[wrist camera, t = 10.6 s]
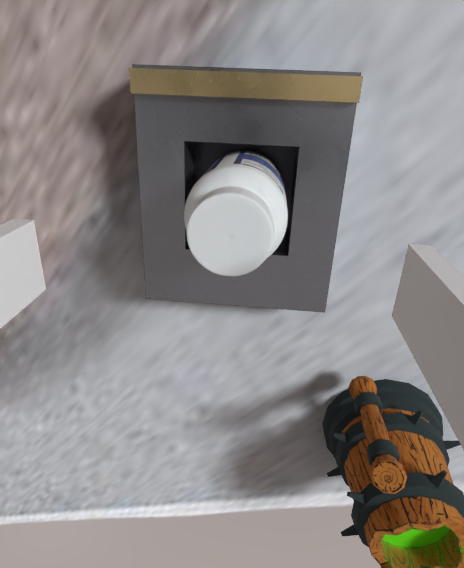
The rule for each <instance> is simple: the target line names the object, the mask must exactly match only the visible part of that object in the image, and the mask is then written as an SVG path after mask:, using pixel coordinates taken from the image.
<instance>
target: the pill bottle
mask: <svg viewBox="0 0 464 568" xmlns="http://www.w3.org/2000/svg"><path fill="white" fill-rule="evenodd" d="M184 222H185V228H186V231H187V241H188V246H189V248H190V251H191V253H192V255H193V256H194V257H195V259H196V260H197V261H198V262H199V263H200V264H201V265H202V266H203V267H204V268H206V269H208V270H209V271H211V272H213V273H215V274H218V275H223V276H240V275H244V274H247V273H249V272H251V271H253V270H255V269H256V268H258V267H259V266H260V265H261V264H262V263H263V262H264V261H265V260H266V258H268V257H269V256H270V255H271V254H272V253H273V252H274V251H275V250H276V249H277V248H278V246H279V245H280V243H281V241H282V239H283V237H284V235H285V232H286V228H287V222H288V209H287V200H286V193H285V185H284V181H283V178H282V175H281V173H280V171H279V169H278V168H277V166H276V165H275V164H274V163H273V162H272V161H271V160H270V159H269V158H268V157H266V156H265V155H263V154H261V153H258V152H255V151H251V150H238V151H234V152H230V153H228V154H226V155H224V156H222V157H220V158H219V159H218V160H217V161H215V162H214V163H213V164H212V165H211V166H210V168H209V169H208V170H207V171H206V172H205V173H204V174H203V176H202V177H201V178H200V179H199V180H198V181H197V182H196V183H195V185H194V186H193V188H192V190H191V191H190V193H189V195H188V198H187V201H186V205H185V211H184Z"/></svg>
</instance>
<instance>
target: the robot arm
mask: <svg viewBox="0 0 464 568" xmlns="http://www.w3.org/2000/svg"><path fill="white" fill-rule="evenodd" d="M45 290H46V287H45V281H44V276H43V270H42V265H41V259H40V253H39V248H38V242H37V236H36V231H35V225H34V220H23V219H12V220H10V221H8V222H6V223H3V224H1V225H0V328H2V327H3V326H4V325H5V324H6V323H7V322H9V321H10V320H11V319H12V318H13V317H14V316H16V315H17V314H18V313H19V312H20V311H21V310H23V309H24V308H25V307H26V306H27V305H28V304H30V303H31V302H32V301H33V300H34V299H35V298H37V297H38V296H39V295H40V294H41V293H42V292H44V291H45ZM392 317H393V319H394V321H395V323H396V324H397V326H398V328H399V330H400V332H401V334H402V336H403V337H404V339H405V341H406V343H407V345H408V347H409V349H410V351H411V352H412V354H413V356H414V358H415V360H416V362H417V364H418V366H419V367H420V369H421V371H422V373H423V375H424V377H425V379H426V380H427V382H428V384H429V386H430V388H431V390H432V392H433V394H434V395H435V397H436V399H437V401H438V403H439V405H440V407H441V409H442V410H443V412H444V414H445V416H446V418H447V420H448V422H449V423H450V425H451V427H452V429H453V431H454V433H455V435H456V437H457V438H458V440H459V442H460V444H461V446H462V448H463V450H464V276H463V275H462V274H461V273H460V272H459V271H458V270H457V269H456V268H455V267H454V266H453V265H452V264H451V263H450V262H449V261H448V260H447V259H446V258H445V257H444V256H443V255H441V254H440V253H439V252H438V251H437V250H436V249H435V248H434V247H433V246H430V245H414V244H409V245H408V249H407V253H406V258H405V262H404V266H403V271H402V275H401V279H400V283H399V288H398V292H397V296H396V300H395V305H394V309H393V313H392Z"/></svg>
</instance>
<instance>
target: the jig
mask: <svg viewBox="0 0 464 568" xmlns="http://www.w3.org/2000/svg"><path fill="white" fill-rule="evenodd" d="M132 67H133V68H129V77H130V93H134V102H135V119H136V136H137V153H138V171H139V188H140V205H141V222H142V240H143V257H144V274H145V291H146V299H157V300H170V301H183V302H196V303H209V304H222V305H235V306H248V307H261V308H274V309H287V310H300V311H313V312H325V309H326V302H327V295H328V289H329V282H330V276H331V269H332V262H333V256H334V249H335V243H336V236H337V229H338V223H339V216H340V210H341V203H342V196H343V190H344V183H345V177H346V170H347V163H348V157H349V150H350V144H351V137H352V131H353V124H354V117H355V111H356V104H357V103H359V99H360V92H361V86H362V79H363V76H361V73H357V72H329V71H302V70H274V69H246V68H219V67H191V66H163V65H135V64H132ZM238 150H251V151H255V152H258V153H261V154H263V155H265V156H266V157H268V158H269V159H270V160H271V161H272V162H273V163H274V164H275V165H276V166H277V168H278V169H279V171H280V173H281V175H282V178H283V181H284V185H285V193H286V200H287V209H288V222H287V228H286V232H285V235H284V237H283V239H282V241H281V243H280V245H279V246H278V248H277V249H276V250H275V251H274V252H273V253H272V254H271V255H270V256H269V257H268V258H266V260H265V261H264V262H263V263H262V264H261V265H260V266H259V267H258V268H256V269H255V270H253V271H251V272H249V273H247V274H244V275H240V276H223V275H218V274H215V273H213V272H211V271H209V270H208V269H206V268H204V267H203V266H202V265H201V264H200V263H199V262H198V261H197V260H196V259H195V257H194V256H193V255H192V253H191V251H190V248H189V246H188V241H187V231H186V228H185V222H184V211H185V205H186V201H187V198H188V195H189V193H190V191H191V190H192V188H193V186H194V185H195V183H196V182H197V181H198V180H199V179H200V178H201V177H202V176H203V174H204V173H205V172H206V171H207V170H208V169H209V168H210V166H211V165H212V164H213V163H214V162H215V161H217V160H218V159H219V158H220V157H222V156H224V155H226V154H228V153H230V152H234V151H238Z"/></svg>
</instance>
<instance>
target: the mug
mask: <svg viewBox="0 0 464 568" xmlns="http://www.w3.org/2000/svg"><path fill="white" fill-rule="evenodd" d="M323 429H324V434H325V439H326V444H327V448H328V449H329V450H330V451H331V453H332V454H333V456H334V458H335V459H336V462H337V465H338V467H337V468H336V469H334V470H332V471H330V472H329V473H327V475H328V477H330V476H337V475H342V477H343V479H344V481H345V483H346V484H347V485H348V486H349V487H350V490H351V492H348V493H347V496H349V497H351V498H353V500H354V504H353V509H352V514H351V516H352V519H353V523H354V525H352V526H350V527H349V528H347V529H345V530H344V531H342V532H341V534H342V536H351V535H359V537H360V538H361V540H362V542H363V544H365V545H366V546H368V547H369V549H370V552H371V555H372V556H373V557H374V558H375V559H376V561H377V562H378V563H379V564H380V565H381V568H464V495H463V492H462V491H461V490H460V489H458V488H457V487H456V486H454V485H453V482H452V479H451V476H450V473H449V470H448V464H449V456H448V453H447V449H450V448H453V447H455V446H458V445H461V444H460V442H459V441H443V439H442V436H443V424H442V416H441V414H440V413H439V411H438V409H437V407H436V406H435V404H434V403H433V401H432V400H431V399H430V397H429V396H428V394H426V393H425V392H423V391H421V390H420V389H418V388H416V387H415V386H413V385H411V384H409V383H404V382H399V381H393V380H388V379H384V380H377V381H373V380H372V379H371V378H369V377H366V376H359V377H356V378H355V379H353V380H352V381H351V383H350V385H349V389H348V390H345V391H343V392H342V393H341V394H340V395H339V396H338V397H337V398H336V399H335V400H334V401H333V402H332V403H331V404H330V405H329V406H328V408H327V412H326V415H325V418H324V421H323Z"/></svg>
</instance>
